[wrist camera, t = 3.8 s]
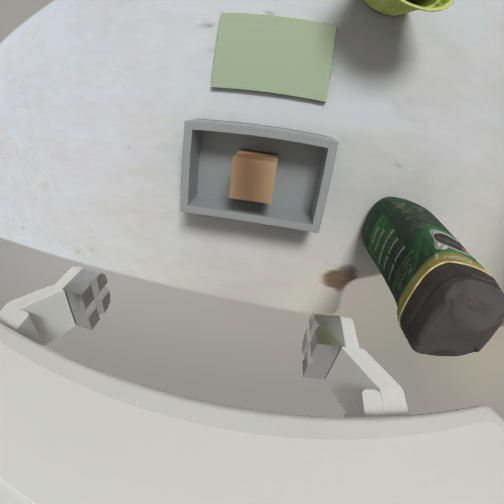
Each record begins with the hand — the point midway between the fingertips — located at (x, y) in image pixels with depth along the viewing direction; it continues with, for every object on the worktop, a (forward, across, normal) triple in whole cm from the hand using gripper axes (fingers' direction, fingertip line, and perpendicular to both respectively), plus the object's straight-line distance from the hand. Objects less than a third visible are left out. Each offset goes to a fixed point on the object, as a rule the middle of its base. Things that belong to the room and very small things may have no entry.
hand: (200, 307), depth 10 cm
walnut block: (+23, 0, 0) cm, 23 cm away
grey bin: (+23, 0, 0) cm, 23 cm away
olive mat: (+23, 0, -13) cm, 27 cm away
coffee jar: (+23, -18, +4) cm, 30 cm away
